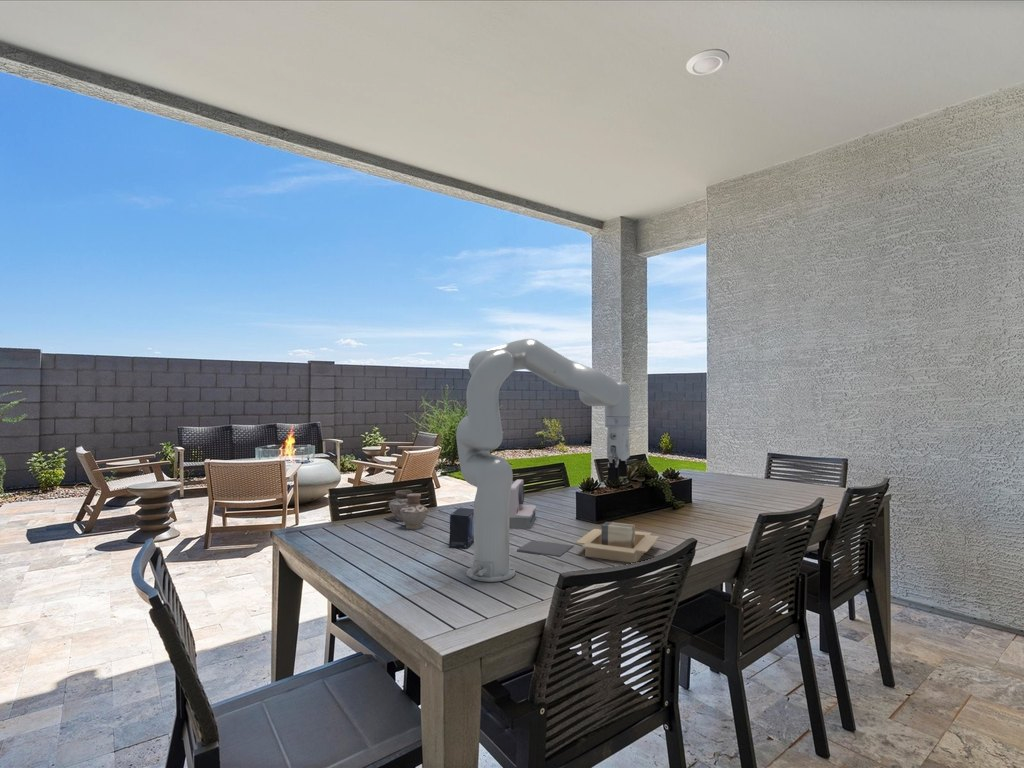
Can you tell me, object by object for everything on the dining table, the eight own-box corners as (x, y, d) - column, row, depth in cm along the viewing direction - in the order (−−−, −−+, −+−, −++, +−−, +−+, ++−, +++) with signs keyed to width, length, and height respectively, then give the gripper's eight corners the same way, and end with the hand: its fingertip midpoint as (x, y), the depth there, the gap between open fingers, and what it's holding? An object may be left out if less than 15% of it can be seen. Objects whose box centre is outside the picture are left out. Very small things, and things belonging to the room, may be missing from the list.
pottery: (402, 532, 186) (402, 498, 187) (385, 517, 209) (386, 487, 209) (433, 529, 191) (433, 495, 192) (414, 515, 214) (414, 484, 214)
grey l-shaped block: (527, 531, 189) (527, 488, 189) (473, 527, 195) (473, 485, 195) (543, 518, 209) (543, 480, 209) (493, 514, 215) (493, 477, 216)
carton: (644, 568, 148) (644, 554, 148) (572, 558, 157) (572, 544, 157) (660, 546, 169) (660, 534, 169) (596, 538, 179) (596, 526, 179)
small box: (468, 549, 166) (468, 515, 167) (448, 548, 168) (448, 514, 168) (477, 540, 177) (477, 508, 177) (458, 539, 178) (458, 507, 178)
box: (631, 555, 159) (630, 528, 159) (601, 551, 163) (601, 525, 163) (634, 551, 164) (634, 524, 164) (606, 547, 167) (606, 521, 168)
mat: (559, 557, 158) (559, 555, 158) (516, 551, 164) (516, 549, 164) (573, 547, 168) (573, 545, 168) (532, 541, 175) (532, 540, 175)
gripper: (622, 424, 155) (622, 483, 154) (636, 421, 170) (636, 475, 170) (597, 423, 158) (597, 481, 158) (612, 420, 174) (613, 474, 173)
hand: (617, 478), depth 164 cm, fingers open, 9 cm apart
